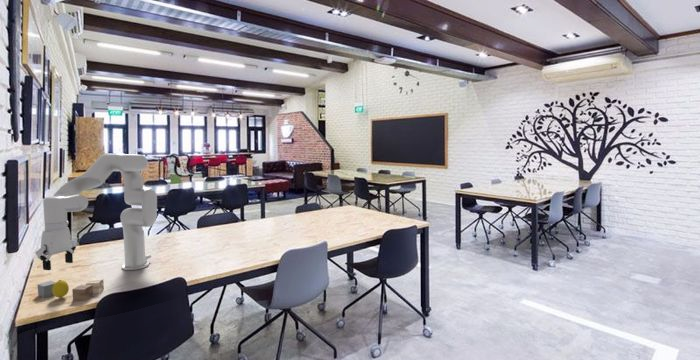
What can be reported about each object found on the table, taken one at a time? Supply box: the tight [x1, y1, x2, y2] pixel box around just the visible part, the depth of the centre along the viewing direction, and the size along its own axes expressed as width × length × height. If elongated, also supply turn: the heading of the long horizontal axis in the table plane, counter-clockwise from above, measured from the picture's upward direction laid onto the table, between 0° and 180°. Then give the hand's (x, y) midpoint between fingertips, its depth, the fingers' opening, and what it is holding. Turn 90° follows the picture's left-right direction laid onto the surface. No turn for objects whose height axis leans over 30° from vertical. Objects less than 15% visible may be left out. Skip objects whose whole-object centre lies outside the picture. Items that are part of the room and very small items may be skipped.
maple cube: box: [85, 278, 105, 295], centre depth 166 cm, size 5×5×5 cm
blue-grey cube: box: [37, 280, 57, 299], centre depth 162 cm, size 5×5×5 cm
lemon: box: [52, 279, 69, 299], centre depth 158 cm, size 6×6×8 cm
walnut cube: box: [71, 284, 94, 302], centre depth 159 cm, size 5×5×5 cm
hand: (58, 266), depth 157 cm, fingers open, 9 cm apart
